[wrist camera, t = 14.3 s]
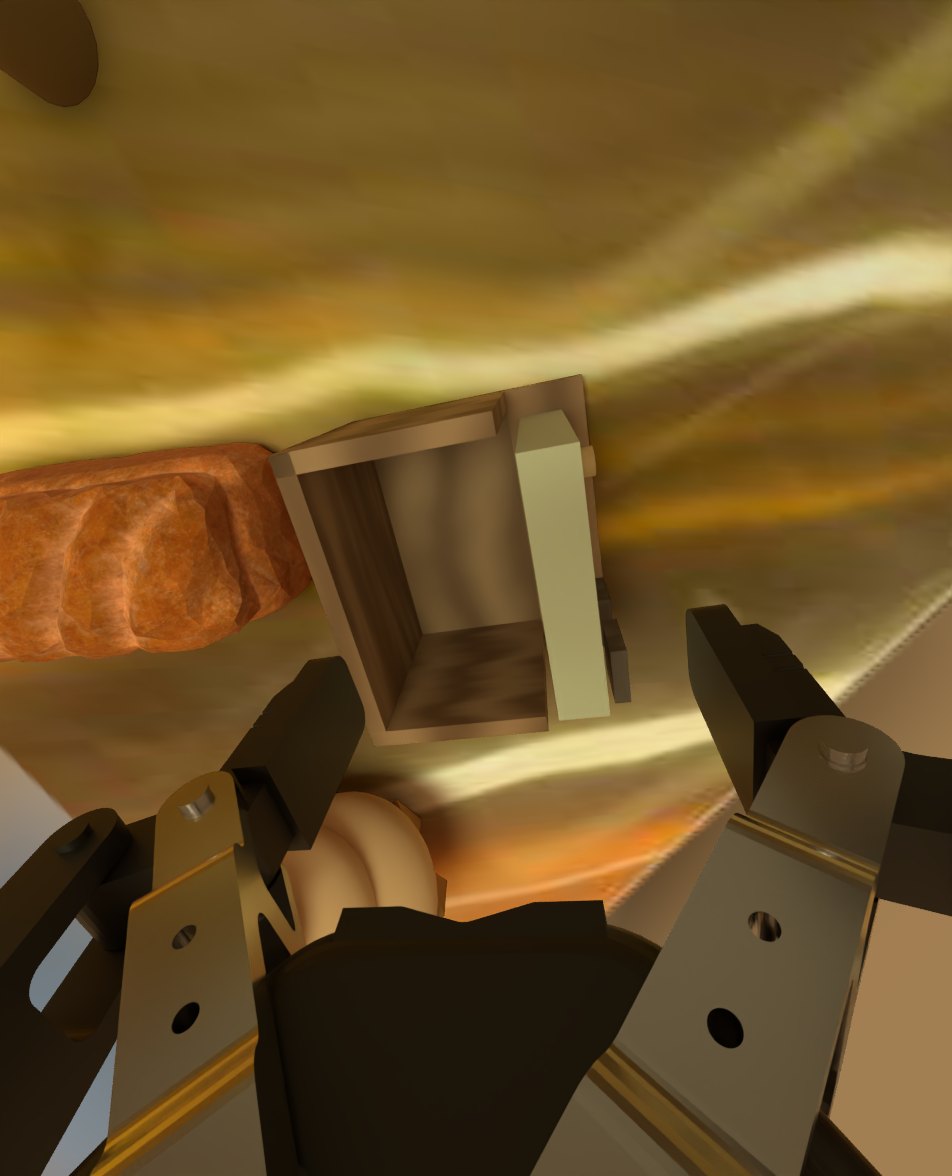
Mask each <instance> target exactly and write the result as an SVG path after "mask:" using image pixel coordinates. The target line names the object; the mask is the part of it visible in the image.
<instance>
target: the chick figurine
mask: <svg viewBox="0 0 952 1176" xmlns="http://www.w3.org/2000/svg"><path fill="white" fill-rule="evenodd" d="M421 822H422V820H421V819H420V818H419V817H418V816H416V815H415V814H414V813H413V812H411V811H410V810H409V809H408V808H406V807H405V806H404V805H403V804H401V803H400V802H399V801H398V800H396V801H395V802H394V803H390V802H389V801H387V800H386V799H383V798H380V797H378V796H375V795H372V794H369V793H365V792H357V791H351V792H343V793H336V794H335V796H334V799H333V801H332V803H331V805H330V808H329V810H328V812H327V814H326V817H325V819H324V821H323V823H322V826H321V828H320V830H319V832H318V835H317V837H316V839H315V842H314V844H313V846H312V848H311V850H300V851H287V853H286V855H285V857H284V859H283V861H282V862H283V864H284V866H285V868H286V869H287V872H288V876H289V879H290V883H291V887H292V891H293V895H294V899H295V903H296V907H297V911H298V915H299V919H300V922H301V926H302V930H303V934H304V938H305V942H306V945H308V944H310V943H312V942H313V941H315V940H317V939H319V938H322V937H324V936H326V935H328V934H331V933H334V932H335V930H336V927H337V924H338V921H339V918H340V915H341V912H342V909H343V908H356V907H390V906H403V907H407V908H410V909H414V910H418V911H421V912H425V913H428V914H432V915H436V916H439V917H443V916H444V915H445V900H446V886H447V880H445V879H444V878H442V877H441V876H439V875H438V874H436V873H435V870H434V865H433V861H432V859H431V856H430V853H429V850H428V847H427V845H426V843H425V841H424V839H423V838H422V836H421V834H420V827H421Z"/></svg>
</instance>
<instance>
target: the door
mask: <svg viewBox="0 0 952 1176" xmlns="http://www.w3.org/2000/svg"><path fill="white" fill-rule="evenodd" d="M515 455H516V461H517V468H518V474H519V480H520V486H521V492H522V498H523V504H524V510H525V516H526V522H527V528H528V534H529V540H530V546H531V552H532V558H533V564H534V570H535V576H536V582H537V588H538V594H539V600H540V607H541V613H542V619H543V625H544V631H545V637H546V643H547V649H548V655H549V661H550V667H551V673H552V679H553V685H554V691H555V697H556V703H557V709H558V715H559V721H560V720H571V719H581V718H592V717H603V716H610V708H609V699H608V690H607V681H606V672H605V663H604V654H603V645H602V636H601V627H600V619H599V610H598V601H597V592H596V583H595V574H594V565H593V556H592V547H591V538H590V529H589V520H588V511H587V502H586V493H585V484H584V478H586V477H592V476H596V462H595V455H594V449H593V446H586V447H581V448H580V441H579V439H578V438H577V436H576V434H575V432H574V430H573V429H572V427H571V425H570V423H569V421H568V420H567V418H566V416H565V414H564V413H563V411H562V409H560V410H555V411H550V412H545V413H540V414H535V415H530V416H525V417H520V421H519V429H518V436H517V444H516V452H515Z"/></svg>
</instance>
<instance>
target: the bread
mask: <svg viewBox="0 0 952 1176" xmlns="http://www.w3.org/2000/svg"><path fill="white" fill-rule="evenodd" d="M272 454H273V453H271V452H269V451H268V450H266V449H264V448H263V447H261V446H259V445H258V444H251V443H239V442H238V443H231V444H224V445H216V446H209V447H188V448H179V449H170V450H162V451H153V452H144V453H140V454H136V455H132V456H127V457H118V458H107V459H95V460H81V461H73V462H67V463H60V464H54V465H48V466H42V467H35V468H29V469H23V470H17V471H12V472H7V473H3V474H0V662H5V661H10V660H16V659H18V660H19V661H21V662H38V661H51V660H55V659H59V658H64V657H68V656H83V657H86V658H88V659H97V658H105V657H112V656H120V655H127V654H129V653H131V652H133V651H135V650H137V649H139V648H141V649H144V650H146V651H148V652H150V653H158V652H173V651H186V650H192V649H197V648H202V647H205V646H207V645H209V644H211V643H214V642H216V641H218V640H220V639H222V638H224V637H227V636H229V635H232V634H236V633H238V632H239V631H240V630H241V629H242V628H243V627H244V626H245V625H246V624H247V623H248V622H250V621H253V620H256V619H260V618H262V617H264V616H266V615H268V614H270V613H272V612H274V611H276V610H278V609H281V608H283V607H284V606H285V605H287V604H288V603H289V602H291V601H292V600H293V599H294V598H296V597H297V596H298V595H299V594H300V593H301V592H302V591H303V590H304V589H305V588H306V587H307V586H308V585H309V583H310V580H311V578H312V576H311V573H310V570H309V567H308V565H307V562H306V559H305V557H304V554H303V551H302V548H301V546H300V543H299V540H298V537H297V535H296V532H295V529H294V527H293V524H292V521H291V518H290V516H289V513H288V510H287V507H286V505H285V502H284V499H283V497H282V494H281V491H280V488H279V486H278V483H277V480H276V477H275V475H274V472H273V469H272V467H271V464H270V461H269V458H268V456H270V455H272Z"/></svg>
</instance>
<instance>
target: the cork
mask: <svg viewBox="0 0 952 1176" xmlns="http://www.w3.org/2000/svg"><path fill="white" fill-rule="evenodd" d="M0 69H1V70H2V71H4V72H5V73H7V74H8V75H10V76H11V77H12V78H14V79H15V80H17V81H18V82H19V83H21V84H22V85H24V86H25V87H27V88H28V89H29V90H31V91H32V92H34V93H35V94H37V95H38V96H40V97H41V98H43V99H44V100H46V101H47V102H49V103H51V104H55V105H59V106H63V107H66V106H72V105H77V104H79V103H80V102H81V101H83V100H84V99H85V98H86V97H88V95H89V93H90V91H91V90H92V88H93V86H94V84H95V81H96V75H97V69H98V57H97V45H96V41H95V38H94V34H93V31H92V28H91V24H90V22H89V20H88V18H87V16H86V14H85V12H84V10H83V9H82V7H81V5H80V3H79V2H78V1H77V0H0Z"/></svg>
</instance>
